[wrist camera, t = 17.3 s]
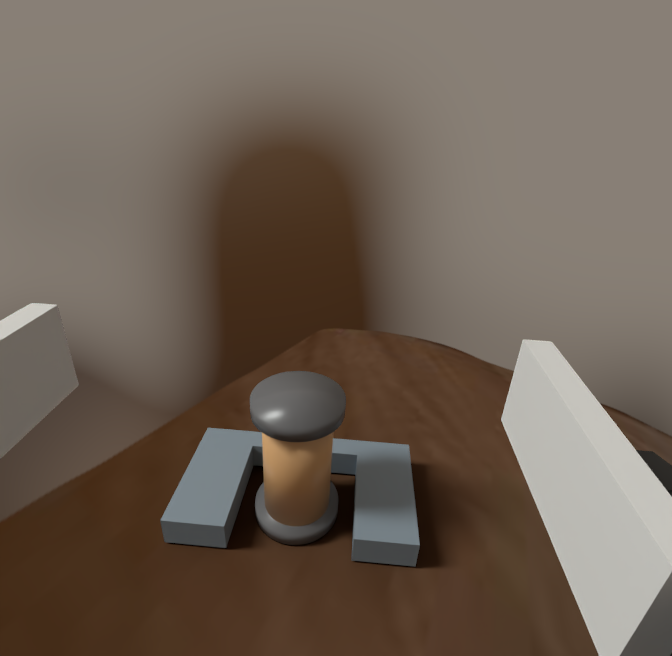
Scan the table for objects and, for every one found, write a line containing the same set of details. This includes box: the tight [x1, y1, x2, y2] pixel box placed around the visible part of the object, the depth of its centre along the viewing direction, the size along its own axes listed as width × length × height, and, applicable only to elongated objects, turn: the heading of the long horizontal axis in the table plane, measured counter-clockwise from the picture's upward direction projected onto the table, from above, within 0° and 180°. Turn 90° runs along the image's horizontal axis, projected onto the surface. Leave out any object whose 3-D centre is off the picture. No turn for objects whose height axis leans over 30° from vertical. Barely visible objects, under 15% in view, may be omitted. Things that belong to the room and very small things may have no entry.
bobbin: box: [250, 371, 346, 545], centre depth 36 cm, size 7×7×12 cm
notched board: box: [160, 428, 420, 567], centre depth 39 cm, size 20×11×2 cm, turn 86°
